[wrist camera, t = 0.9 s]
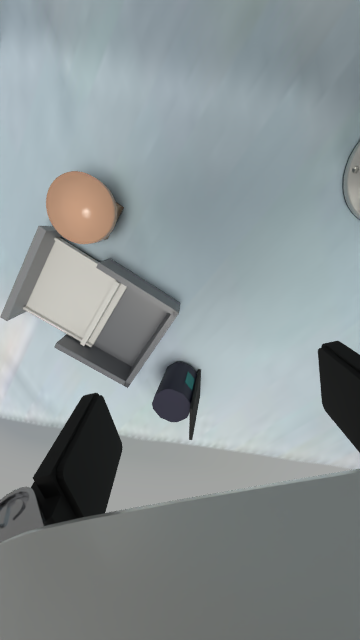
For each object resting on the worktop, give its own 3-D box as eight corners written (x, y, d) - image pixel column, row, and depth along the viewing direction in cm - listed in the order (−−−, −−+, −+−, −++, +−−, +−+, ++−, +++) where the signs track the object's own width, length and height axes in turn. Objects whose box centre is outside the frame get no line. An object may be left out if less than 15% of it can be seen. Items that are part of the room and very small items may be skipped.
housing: (180, 303, 39) (178, 312, 35) (134, 370, 44) (127, 387, 39) (110, 258, 37) (98, 262, 33) (69, 334, 42) (54, 347, 37)
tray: (134, 275, 38) (127, 281, 33) (92, 347, 42) (80, 361, 37) (57, 226, 36) (38, 225, 31) (21, 307, 40) (0, 317, 36)
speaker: (212, 370, 43) (210, 412, 33) (199, 395, 45) (194, 441, 35) (171, 353, 43) (157, 390, 33) (160, 379, 45) (144, 421, 35)
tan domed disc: (70, 160, 29) (62, 155, 27) (128, 200, 30) (124, 198, 28) (45, 220, 31) (36, 219, 29) (99, 255, 32) (94, 256, 30)
